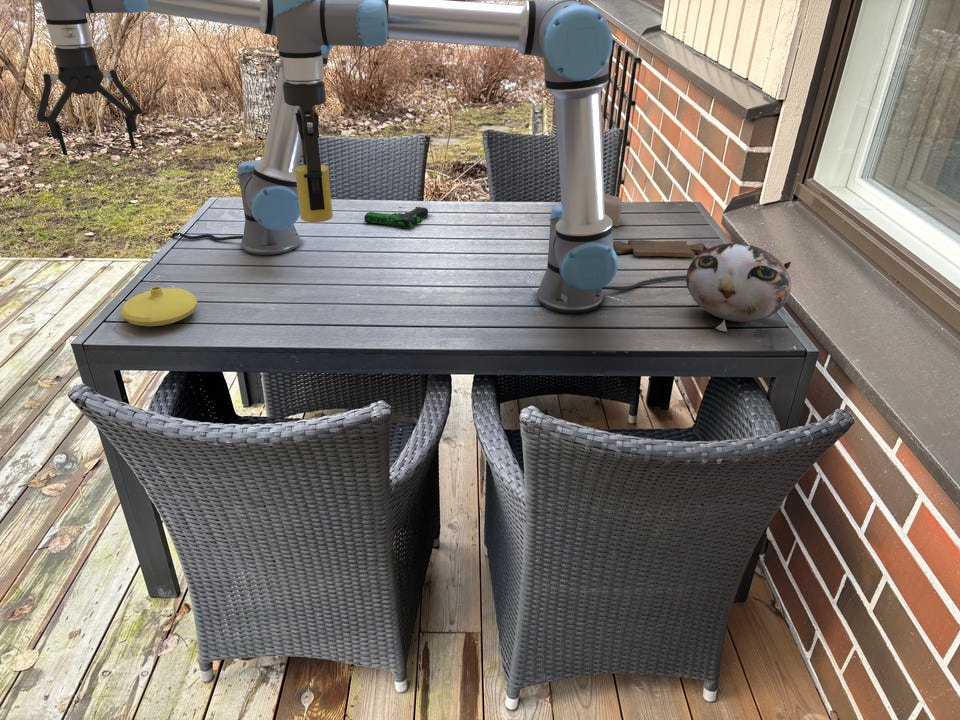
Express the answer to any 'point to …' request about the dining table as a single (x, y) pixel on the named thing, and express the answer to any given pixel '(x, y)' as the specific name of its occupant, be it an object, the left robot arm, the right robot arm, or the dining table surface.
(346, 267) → the dining table surface
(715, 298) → the plush toy
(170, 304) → the vase
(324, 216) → the tin
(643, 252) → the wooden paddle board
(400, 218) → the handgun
